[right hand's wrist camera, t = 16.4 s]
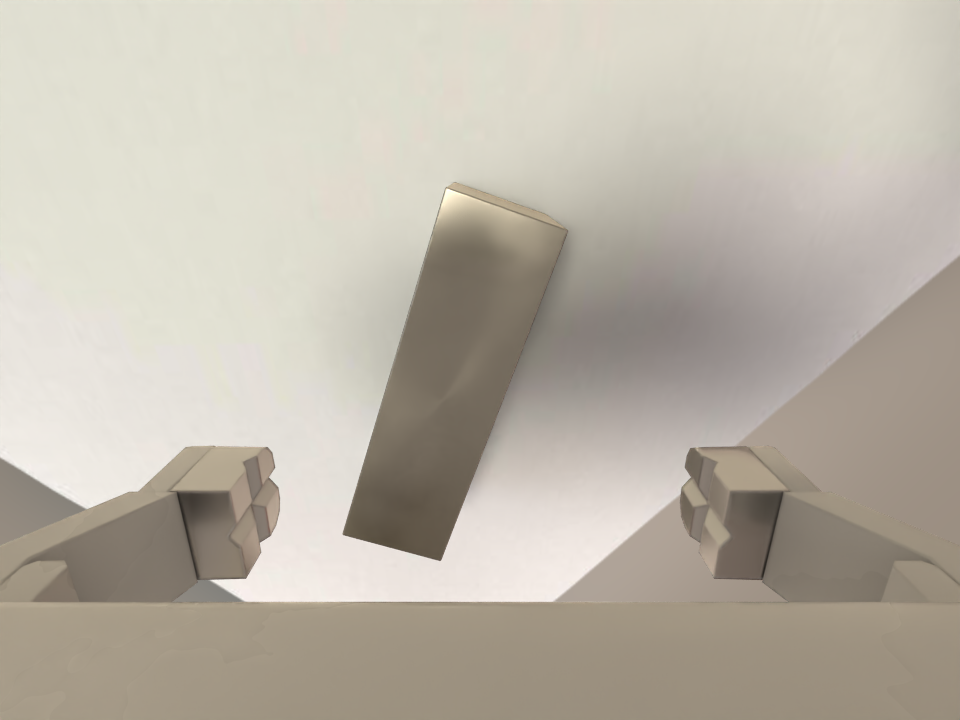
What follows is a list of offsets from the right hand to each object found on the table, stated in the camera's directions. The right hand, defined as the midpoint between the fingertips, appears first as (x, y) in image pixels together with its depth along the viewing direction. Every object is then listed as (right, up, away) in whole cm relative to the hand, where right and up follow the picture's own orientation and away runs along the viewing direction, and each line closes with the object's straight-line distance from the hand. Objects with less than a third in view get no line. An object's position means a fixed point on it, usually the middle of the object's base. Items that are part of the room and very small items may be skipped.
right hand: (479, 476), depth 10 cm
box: (-2, +3, +26) cm, 26 cm away
